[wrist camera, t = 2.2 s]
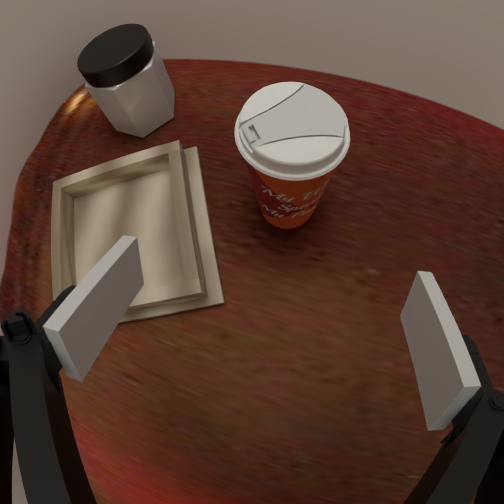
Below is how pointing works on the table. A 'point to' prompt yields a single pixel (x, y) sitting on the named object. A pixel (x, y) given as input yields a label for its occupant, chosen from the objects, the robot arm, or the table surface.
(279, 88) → the paper cup
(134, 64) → the jar
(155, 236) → the cup tray
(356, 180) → the table surface
